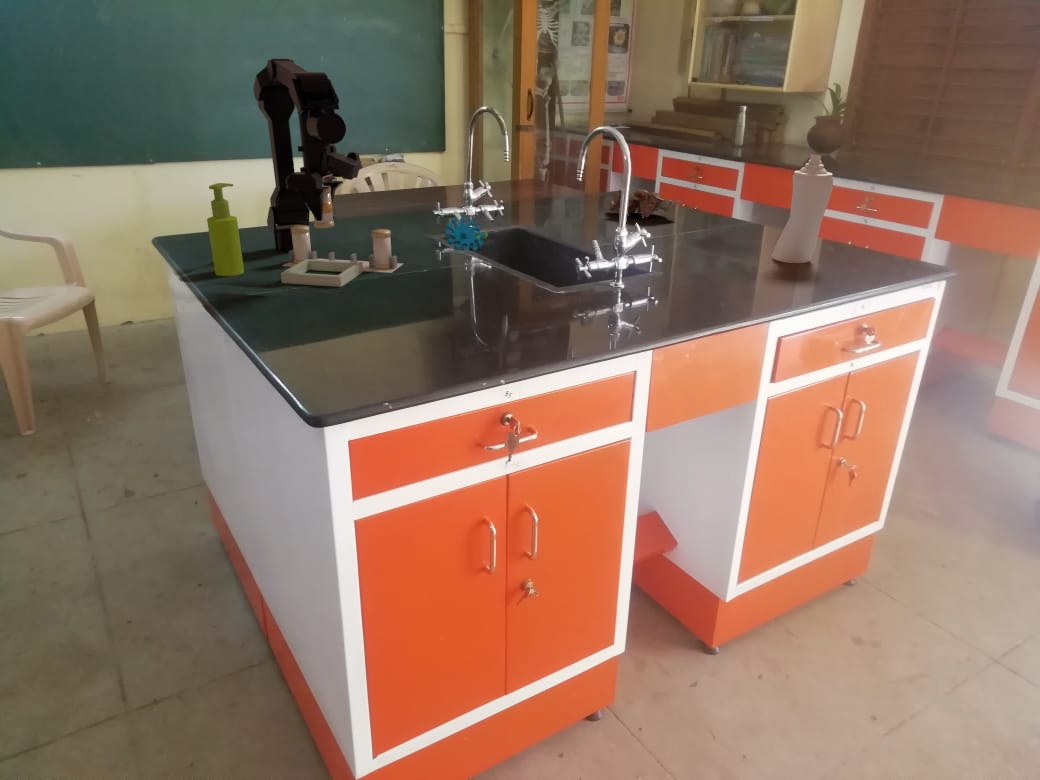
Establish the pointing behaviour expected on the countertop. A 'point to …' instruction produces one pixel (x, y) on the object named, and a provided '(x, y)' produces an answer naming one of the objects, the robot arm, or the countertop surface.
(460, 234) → the gear
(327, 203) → the fuse marked
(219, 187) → the soap dispenser
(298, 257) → the fuse left
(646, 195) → the mineral formation
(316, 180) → the robot arm
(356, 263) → the tray
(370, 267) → the fuse holder
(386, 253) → the fuse right
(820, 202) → the curved beige bottle
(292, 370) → the countertop surface
